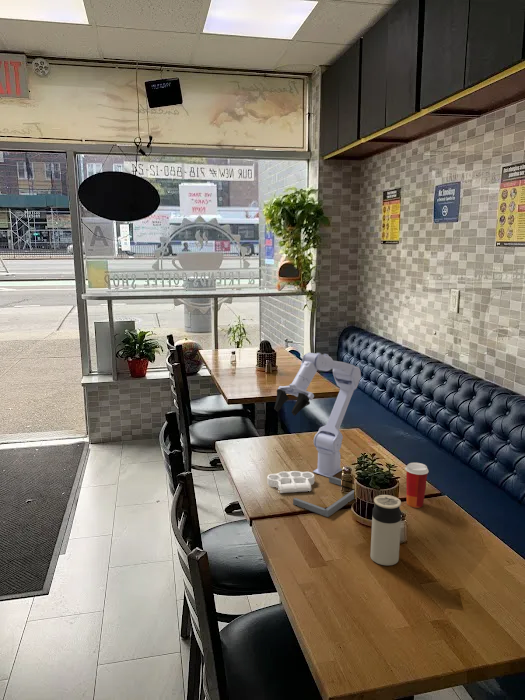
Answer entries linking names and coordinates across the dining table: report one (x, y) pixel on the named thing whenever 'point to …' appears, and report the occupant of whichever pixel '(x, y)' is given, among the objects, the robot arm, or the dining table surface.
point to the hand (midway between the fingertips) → (284, 411)
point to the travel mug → (386, 530)
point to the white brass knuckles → (291, 481)
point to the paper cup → (416, 484)
